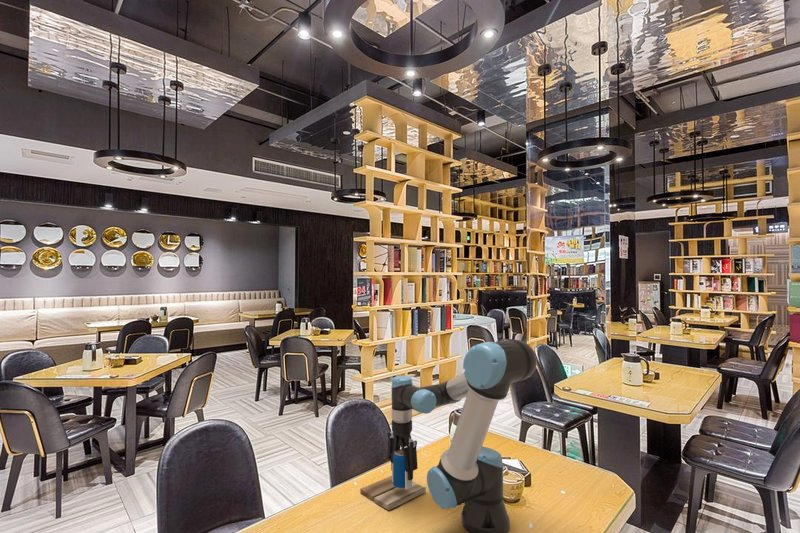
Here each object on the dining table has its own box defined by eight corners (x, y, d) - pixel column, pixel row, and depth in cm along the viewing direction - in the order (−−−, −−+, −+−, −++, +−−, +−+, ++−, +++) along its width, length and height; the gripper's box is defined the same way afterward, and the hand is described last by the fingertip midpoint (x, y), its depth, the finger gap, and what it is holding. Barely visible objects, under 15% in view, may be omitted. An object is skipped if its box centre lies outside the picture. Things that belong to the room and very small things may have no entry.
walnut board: (410, 485, 151) (410, 480, 151) (373, 501, 139) (373, 497, 139) (396, 477, 157) (396, 473, 157) (360, 493, 145) (360, 488, 145)
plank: (426, 492, 145) (425, 487, 145) (388, 510, 133) (388, 505, 133) (411, 485, 150) (411, 480, 151) (374, 502, 139) (374, 497, 139)
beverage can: (409, 491, 138) (409, 456, 138) (391, 489, 139) (391, 454, 139) (412, 482, 144) (412, 449, 144) (395, 480, 145) (395, 447, 146)
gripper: (428, 424, 138) (428, 491, 137) (392, 411, 152) (392, 471, 151) (412, 429, 133) (412, 499, 132) (377, 415, 147) (377, 478, 146)
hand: (401, 484), depth 141 cm, fingers closed on beverage can, 6 cm apart
